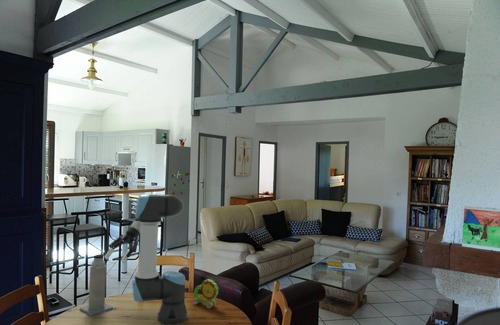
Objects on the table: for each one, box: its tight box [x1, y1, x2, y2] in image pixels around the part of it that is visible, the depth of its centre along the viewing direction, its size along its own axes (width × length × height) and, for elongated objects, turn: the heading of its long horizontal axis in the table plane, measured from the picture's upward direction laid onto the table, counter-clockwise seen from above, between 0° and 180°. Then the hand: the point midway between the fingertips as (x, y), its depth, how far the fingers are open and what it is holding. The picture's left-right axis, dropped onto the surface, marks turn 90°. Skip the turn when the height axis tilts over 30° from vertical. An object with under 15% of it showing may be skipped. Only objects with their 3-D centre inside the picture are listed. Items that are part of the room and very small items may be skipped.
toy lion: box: [191, 278, 219, 310], centre depth 196 cm, size 16×5×15 cm, turn 61°
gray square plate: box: [79, 303, 114, 317], centre depth 185 cm, size 12×12×1 cm
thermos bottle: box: [88, 254, 107, 310], centre depth 185 cm, size 8×8×28 cm
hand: (114, 260), depth 195 cm, fingers open, 13 cm apart
